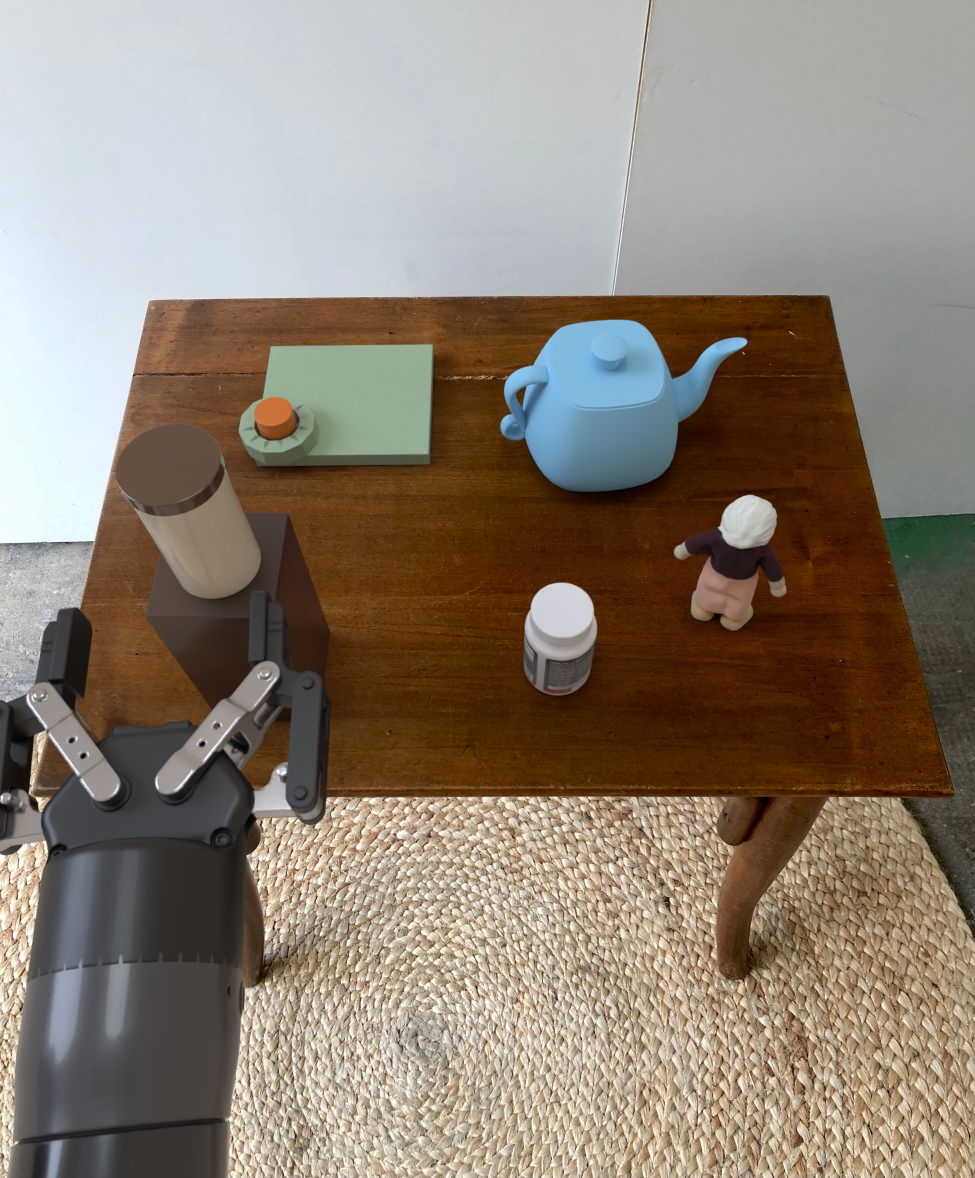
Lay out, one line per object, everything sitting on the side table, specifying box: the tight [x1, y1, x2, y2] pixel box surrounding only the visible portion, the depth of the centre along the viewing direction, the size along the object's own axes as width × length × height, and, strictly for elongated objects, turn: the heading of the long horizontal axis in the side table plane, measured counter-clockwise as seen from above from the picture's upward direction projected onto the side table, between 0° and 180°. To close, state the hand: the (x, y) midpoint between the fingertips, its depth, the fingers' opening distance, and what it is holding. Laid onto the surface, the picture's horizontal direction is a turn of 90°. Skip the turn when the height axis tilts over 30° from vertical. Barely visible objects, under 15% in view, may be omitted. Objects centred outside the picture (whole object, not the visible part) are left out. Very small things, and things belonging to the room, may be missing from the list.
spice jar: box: [114, 422, 261, 599], centre depth 47 cm, size 5×5×9 cm
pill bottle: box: [523, 582, 598, 696], centre depth 60 cm, size 5×5×8 cm
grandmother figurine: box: [673, 494, 787, 632], centre depth 61 cm, size 8×4×13 cm, turn 77°
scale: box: [238, 343, 435, 467], centre depth 75 cm, size 15×13×3 cm
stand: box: [144, 511, 331, 721], centre depth 57 cm, size 7×7×15 cm
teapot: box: [499, 319, 748, 493], centre depth 69 cm, size 13×11×18 cm
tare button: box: [254, 397, 296, 440], centre depth 71 cm, size 3×3×2 cm
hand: (170, 607), depth 42 cm, fingers open, 8 cm apart
